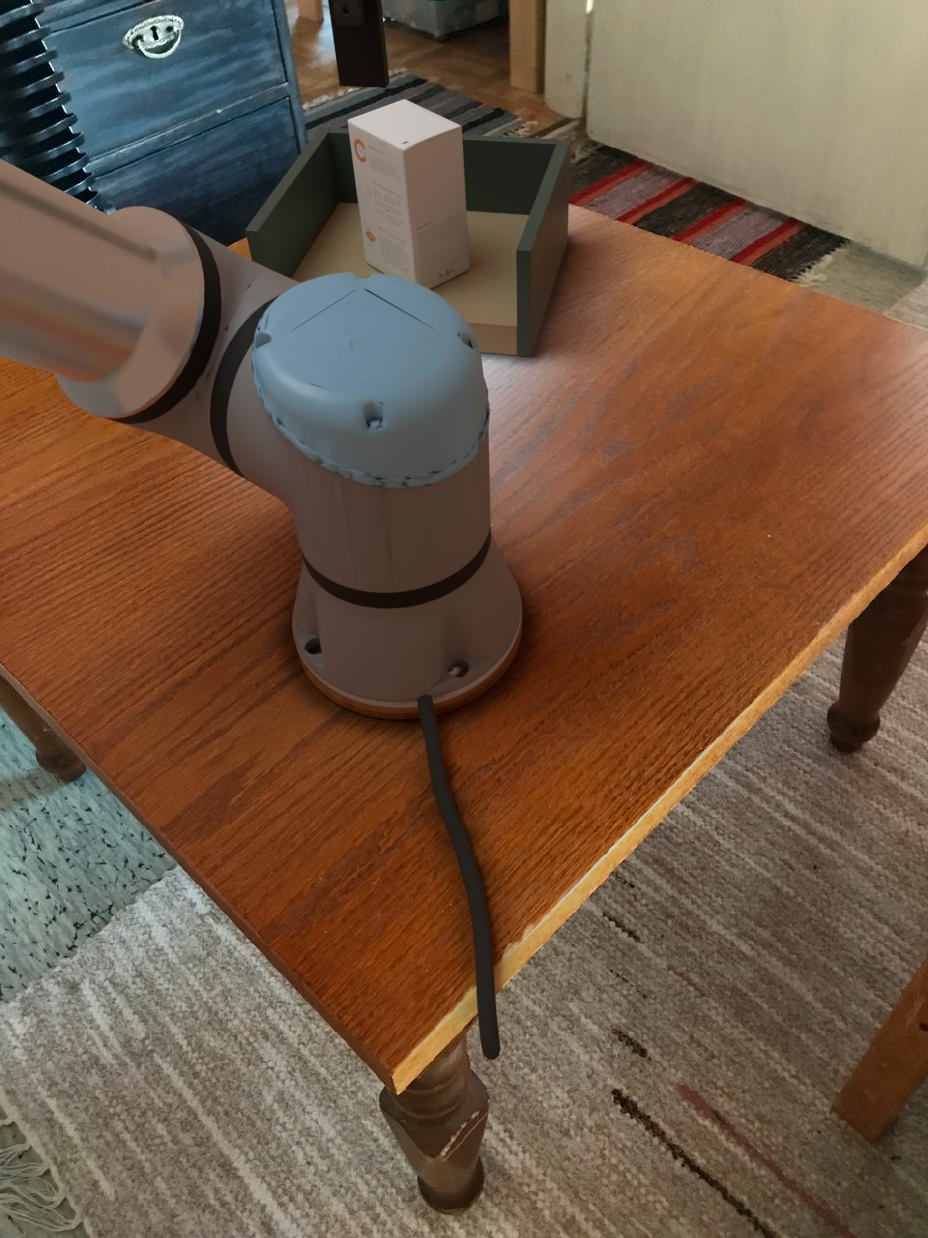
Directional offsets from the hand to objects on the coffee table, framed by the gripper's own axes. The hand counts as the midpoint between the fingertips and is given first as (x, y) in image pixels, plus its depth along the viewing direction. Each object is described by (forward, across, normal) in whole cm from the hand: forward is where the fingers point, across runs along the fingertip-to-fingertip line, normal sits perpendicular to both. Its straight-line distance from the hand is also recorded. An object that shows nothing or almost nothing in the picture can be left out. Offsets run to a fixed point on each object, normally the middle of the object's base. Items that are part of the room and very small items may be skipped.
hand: (397, 38), depth 59 cm
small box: (+26, +18, +6) cm, 32 cm away
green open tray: (+29, +20, +6) cm, 35 cm away
